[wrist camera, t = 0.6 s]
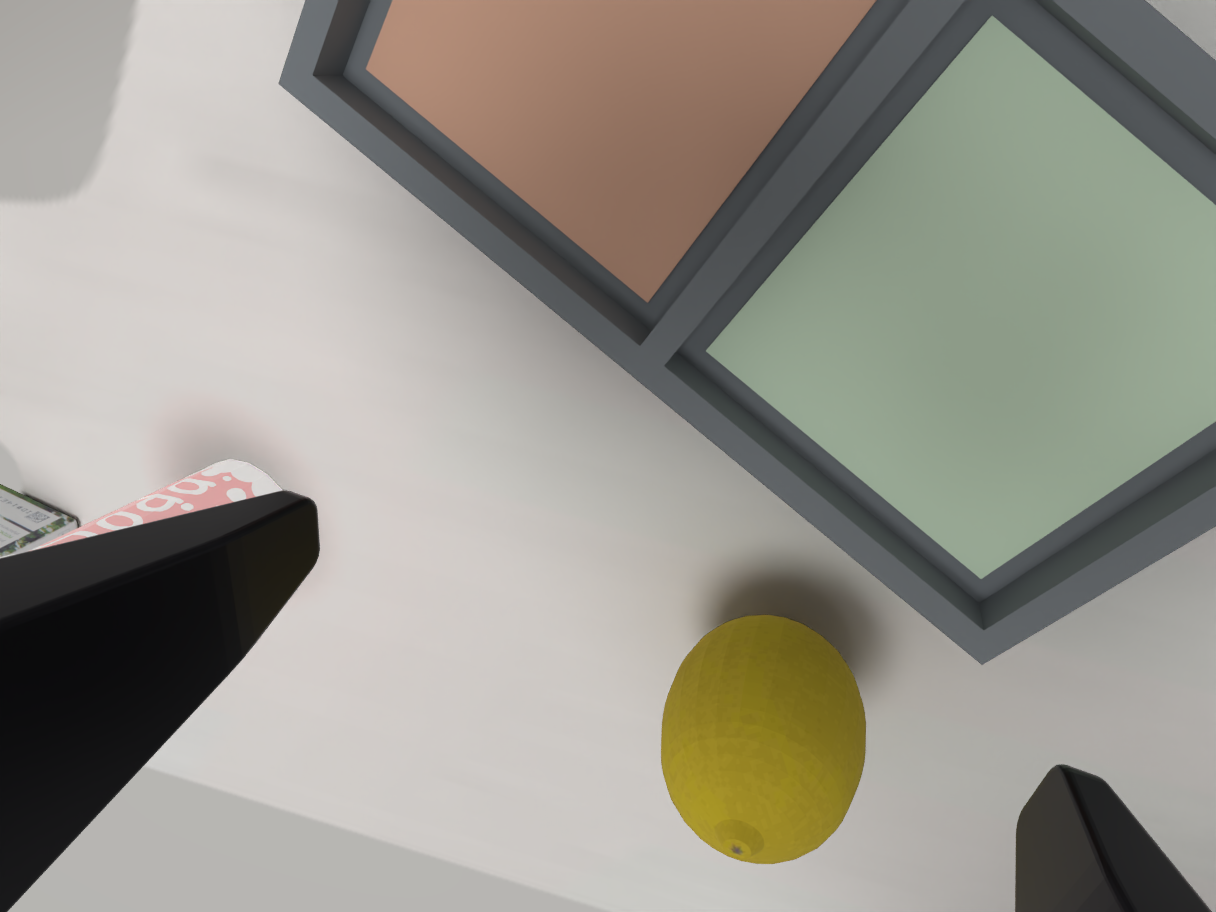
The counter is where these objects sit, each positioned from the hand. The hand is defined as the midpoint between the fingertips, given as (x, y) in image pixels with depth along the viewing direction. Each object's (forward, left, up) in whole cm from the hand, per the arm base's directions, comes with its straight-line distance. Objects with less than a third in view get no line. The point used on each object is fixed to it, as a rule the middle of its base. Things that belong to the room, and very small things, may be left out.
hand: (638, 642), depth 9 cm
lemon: (-7, +8, -13) cm, 17 cm away
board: (+2, -3, -13) cm, 14 cm away
